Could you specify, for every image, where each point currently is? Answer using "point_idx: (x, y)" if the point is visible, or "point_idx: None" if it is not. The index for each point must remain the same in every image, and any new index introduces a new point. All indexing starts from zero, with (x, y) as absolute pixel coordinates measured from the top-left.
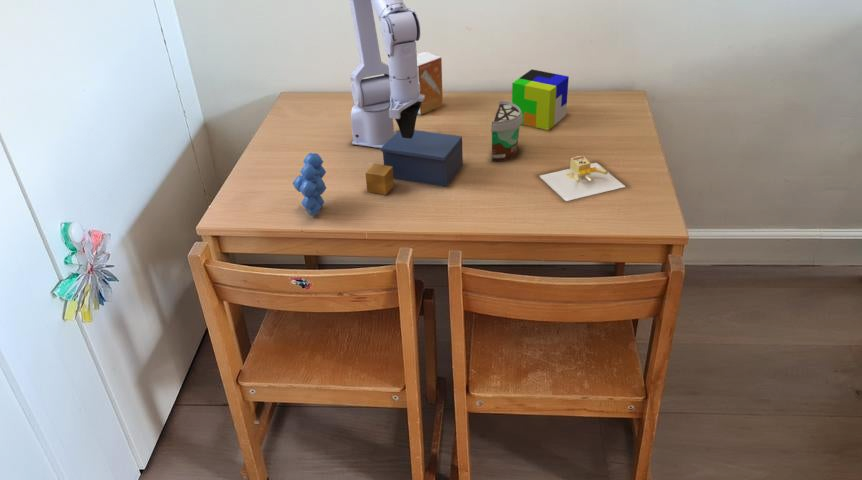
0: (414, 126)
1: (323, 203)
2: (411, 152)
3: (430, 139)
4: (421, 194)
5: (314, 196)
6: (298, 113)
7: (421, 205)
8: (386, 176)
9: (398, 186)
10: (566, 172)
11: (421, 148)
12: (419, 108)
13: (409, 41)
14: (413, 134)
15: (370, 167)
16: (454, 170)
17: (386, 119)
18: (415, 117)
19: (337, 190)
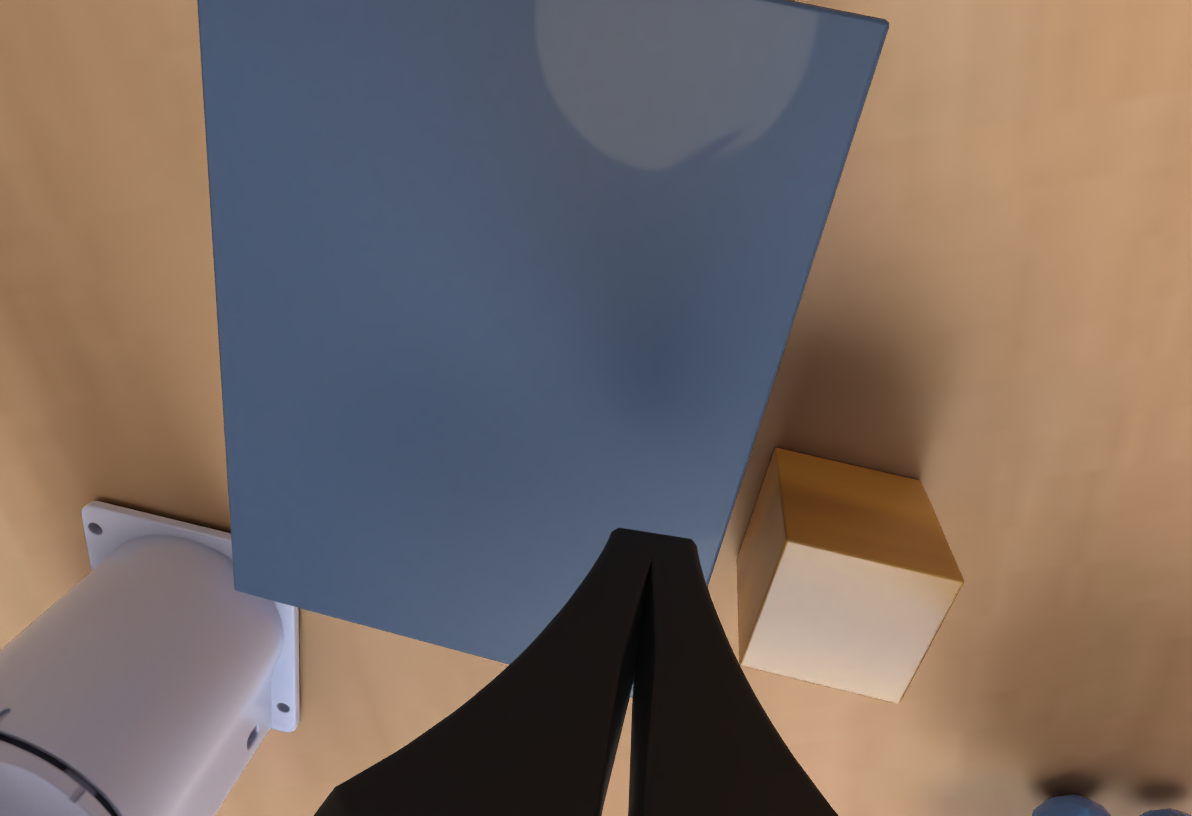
0: (610, 599)
1: (1089, 806)
2: (749, 453)
3: (389, 298)
4: (923, 227)
5: None
6: None
7: (1123, 195)
8: (921, 555)
9: (787, 417)
10: None
11: (636, 364)
12: (397, 752)
13: None
14: (622, 536)
15: (807, 681)
16: None
17: (112, 689)
18: (603, 708)
19: (842, 734)
